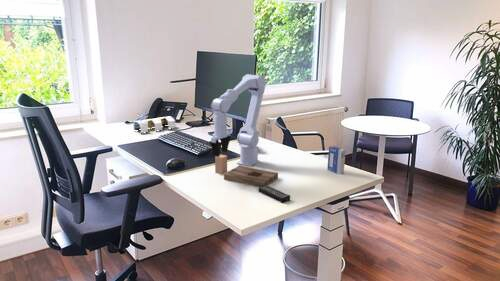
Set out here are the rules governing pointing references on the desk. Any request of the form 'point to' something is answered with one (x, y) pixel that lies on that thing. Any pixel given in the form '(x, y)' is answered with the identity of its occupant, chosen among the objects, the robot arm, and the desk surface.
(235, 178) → the pin plate
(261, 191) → the multiport hub
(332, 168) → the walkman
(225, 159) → the pin
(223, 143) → the robot arm
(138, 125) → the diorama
